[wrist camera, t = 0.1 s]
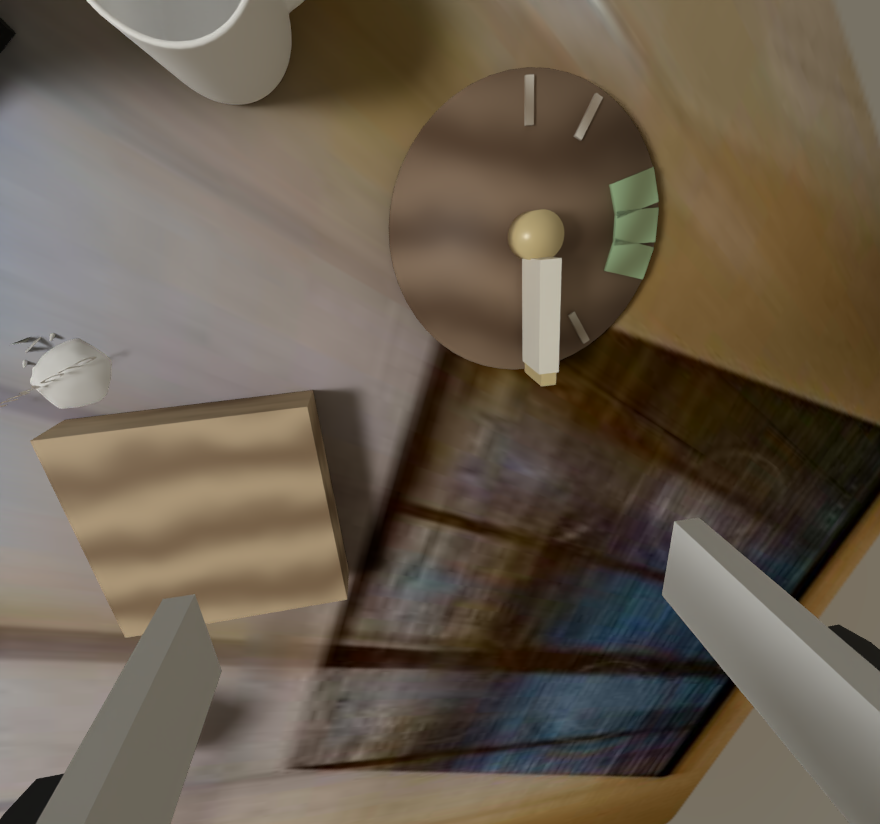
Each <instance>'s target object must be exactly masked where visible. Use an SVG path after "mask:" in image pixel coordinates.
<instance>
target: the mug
mask: <svg viewBox="0 0 880 824" xmlns="http://www.w3.org/2000/svg"><path fill="white" fill-rule="evenodd" d="M86 1H87V2H88V3H89V4H90V5H91V6H92V7H93V8H94V9H95V10H96V11H97V12H98V13H99V14H100V15H101V16H102V17H104V18H105V19H106V20H107V21H109V22H110V23H111V24H112V25H113V26H115V27H116V28H117V29H118V30H120V31H121V32H122V33H123V34H124V35H126V36H127V37H128V38H129V39H130V40H132V41H133V42H134V43H135V44H137V45H138V46H139V47H140V48H141V49H143V50H144V51H145V52H146V53H147V54H149V55H150V56H151V57H152V58H154V59H155V60H156V61H157V62H158V63H160V64H161V65H162V66H163V67H164V68H166V69H167V70H168V71H169V72H171V73H172V74H173V75H174V76H175V77H177V78H178V79H179V80H180V81H182V82H183V83H184V84H185V85H187V86H188V87H189V88H191V89H192V90H194V91H195V92H197V93H199V94H200V95H202V96H204V97H206V98H208V99H210V100H213V101H216V102H219V103H224V104H230V105H243V104H249V103H253V102H256V101H258V100H260V99H262V98H264V97H265V96H267V95H268V94H270V93H271V92H272V91H273V90H274V89H275V88H276V87H277V85H278V84H279V83H280V81H281V80H282V78H283V76H284V74H285V72H286V69H287V67H288V63H289V60H290V54H291V46H292V38H291V24H290V18H289V13H290V12H291V11H292V10H294V9H295V8H296V7H298V6H299V5H300V4H301V3H303V2H304V1H305V0H86Z"/></svg>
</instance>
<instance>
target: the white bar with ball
mask: <svg viewBox="0 0 880 824" xmlns="http://www.w3.org/2000/svg"><path fill="white" fill-rule="evenodd" d="M563 240H564V226H563V223H562V221H561V219H560V218H559V217H558V215H557V214H555V213H554V212H552V211H550V210H546V209H540V210H534V211H527V212H524V213H522V214H520V215H518V216H517V217H516V218H515V219H514V220H513V222H512V223H511V225H510V227H509V231H508V244H509V247H510V249H511V251H512V252H513V254H514V255H515V256H517V257H518V258H520V259H522V357H523V362H524V363H525V372H526V373H527V374H528V375H529V376H530V377H531V378H532V379H534V380H535V381H536V382H537V383H538V384H539V385H540V386H548V385H555V384H556V372H559V340H560V305H561V269H562V258H558V257H553V256H555V255H556V254H557V252H558V251H559V250H560V248H561V246H562V244H563Z"/></svg>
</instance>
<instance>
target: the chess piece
mask: <svg viewBox="0 0 880 824" xmlns="http://www.w3.org/2000/svg"><path fill="white" fill-rule="evenodd" d="M15 34H16V33H15V32H14V31H13V30H12V29H11V28H10V27H9V26H8V25H7V24H6V23H5V22H4V21H3V20H2V19H1V18H0V53H1V51H2V50H3V49H4V48H5V46H6V45H7V44H8V43H9V41H10V40H11V39H12V38H13V36H14V35H15Z"/></svg>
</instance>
